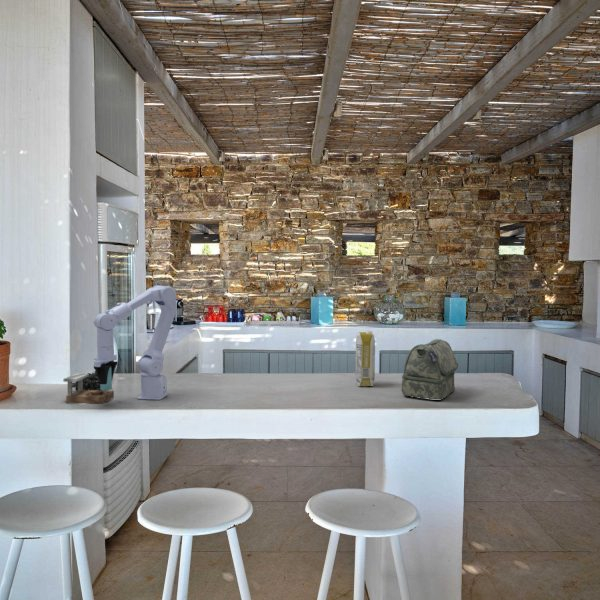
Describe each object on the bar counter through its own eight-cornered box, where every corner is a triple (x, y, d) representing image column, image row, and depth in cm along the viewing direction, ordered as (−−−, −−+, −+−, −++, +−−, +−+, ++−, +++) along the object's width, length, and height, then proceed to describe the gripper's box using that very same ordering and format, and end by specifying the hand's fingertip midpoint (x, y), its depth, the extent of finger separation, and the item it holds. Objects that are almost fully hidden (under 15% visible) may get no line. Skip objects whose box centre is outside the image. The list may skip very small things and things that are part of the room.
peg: (113, 387, 207) (113, 366, 206) (109, 390, 203) (108, 368, 202) (103, 387, 207) (102, 366, 206) (98, 390, 203) (97, 368, 202)
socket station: (115, 397, 216) (115, 374, 216) (103, 403, 206) (103, 380, 206) (76, 396, 218) (76, 373, 217) (63, 402, 208) (63, 378, 207)
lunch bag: (442, 404, 211) (443, 347, 209) (396, 397, 220) (397, 343, 219) (460, 390, 233) (461, 339, 232) (418, 385, 242) (419, 336, 241)
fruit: (69, 370, 222) (109, 368, 226) (72, 373, 230) (110, 370, 234) (69, 392, 220) (109, 389, 224) (72, 394, 228) (110, 391, 232)
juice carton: (375, 387, 237) (376, 332, 236) (356, 387, 237) (357, 331, 236) (372, 383, 247) (373, 329, 245) (354, 382, 247) (355, 329, 245)
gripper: (103, 343, 211) (104, 378, 212) (85, 349, 197) (86, 386, 198) (121, 343, 211) (122, 378, 212) (104, 349, 196) (105, 387, 197)
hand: (106, 382), depth 205 cm, fingers closed on peg, 4 cm apart
